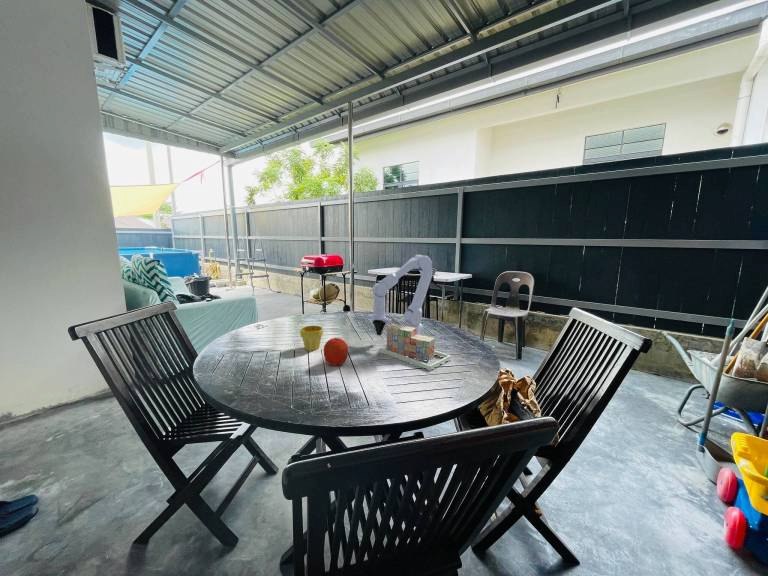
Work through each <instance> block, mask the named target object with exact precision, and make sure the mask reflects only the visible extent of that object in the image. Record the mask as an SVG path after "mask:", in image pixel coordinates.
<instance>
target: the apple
mask: <svg viewBox="0 0 768 576" xmlns="http://www.w3.org/2000/svg"><path fill="white" fill-rule="evenodd" d="M348 355H349V346H348V344H347V342H346V341H345V340H344V339H342V338H339V337H333V338H330V339H329V340H327V341H326V342H325V344H324V346H323V357H324V360H325V362H326V363H328V364H329V365H331V366H339V365H342V364H343V363H344V362H346V361H347V359H348Z"/></svg>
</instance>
